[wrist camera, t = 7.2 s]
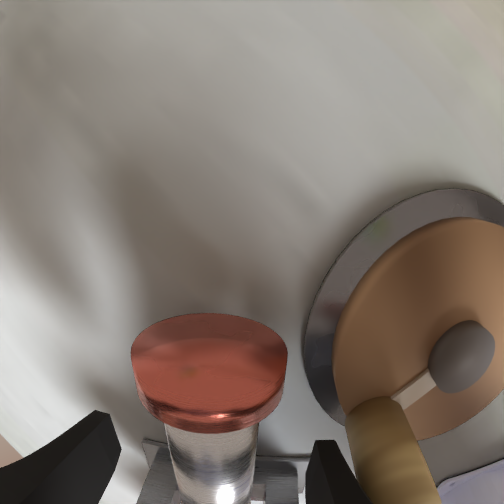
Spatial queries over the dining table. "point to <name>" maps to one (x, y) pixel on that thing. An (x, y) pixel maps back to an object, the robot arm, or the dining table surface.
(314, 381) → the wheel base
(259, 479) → the eye bracket
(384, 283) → the handwheel
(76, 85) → the dining table surface
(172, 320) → the copper capped rod
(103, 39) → the dining table surface
